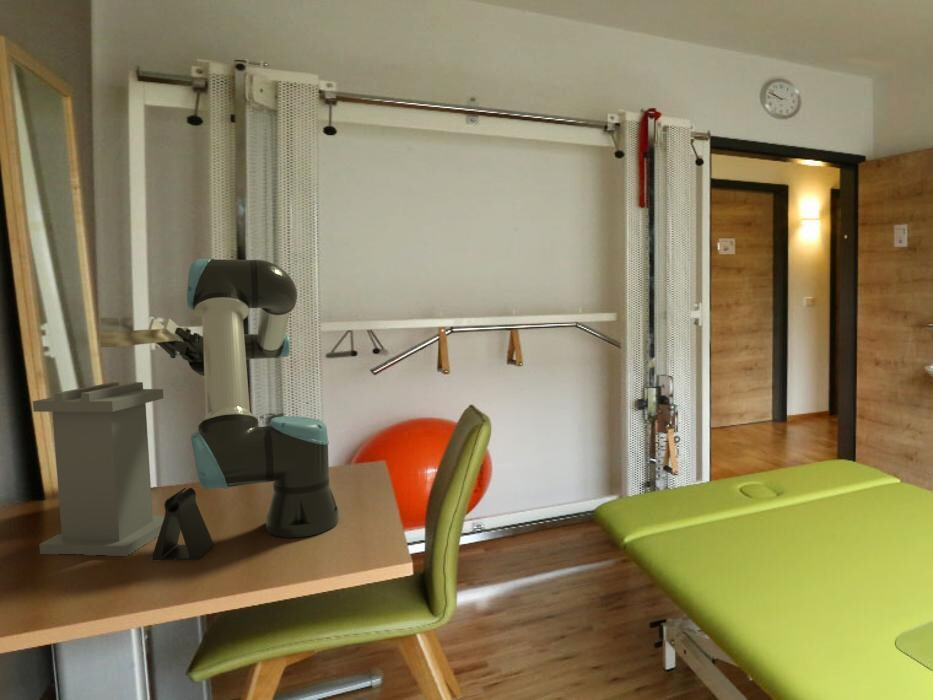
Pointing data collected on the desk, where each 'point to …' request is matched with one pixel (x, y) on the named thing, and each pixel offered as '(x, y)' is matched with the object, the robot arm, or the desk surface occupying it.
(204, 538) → the dark triangular holder
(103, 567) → the desk surface
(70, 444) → the stand
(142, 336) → the beam
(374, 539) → the desk surface
